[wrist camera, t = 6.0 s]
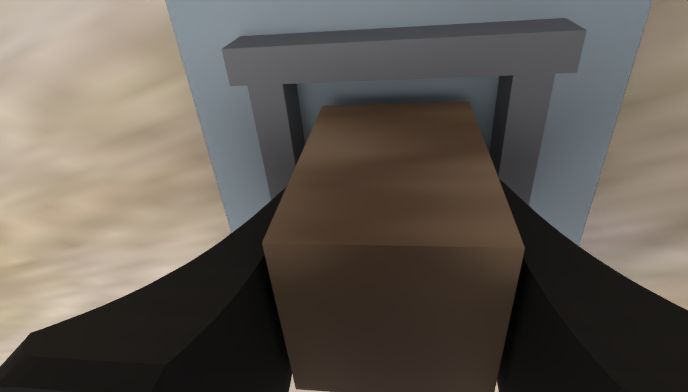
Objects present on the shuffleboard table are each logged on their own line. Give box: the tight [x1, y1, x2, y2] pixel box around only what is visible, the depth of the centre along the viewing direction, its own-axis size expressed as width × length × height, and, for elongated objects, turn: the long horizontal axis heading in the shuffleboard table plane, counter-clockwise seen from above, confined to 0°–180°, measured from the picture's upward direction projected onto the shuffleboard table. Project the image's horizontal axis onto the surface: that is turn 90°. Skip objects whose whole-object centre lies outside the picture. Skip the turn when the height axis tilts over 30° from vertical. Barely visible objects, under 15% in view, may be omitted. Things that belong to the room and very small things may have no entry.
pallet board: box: [165, 0, 652, 246], centre depth 13 cm, size 13×14×2 cm
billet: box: [262, 102, 525, 392], centre depth 10 cm, size 4×4×6 cm
